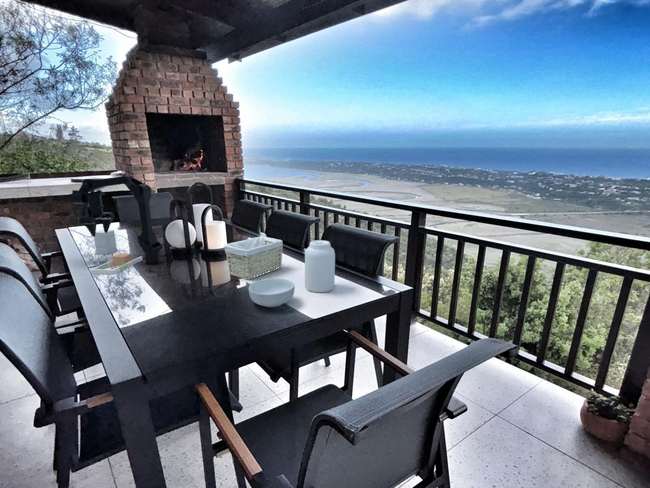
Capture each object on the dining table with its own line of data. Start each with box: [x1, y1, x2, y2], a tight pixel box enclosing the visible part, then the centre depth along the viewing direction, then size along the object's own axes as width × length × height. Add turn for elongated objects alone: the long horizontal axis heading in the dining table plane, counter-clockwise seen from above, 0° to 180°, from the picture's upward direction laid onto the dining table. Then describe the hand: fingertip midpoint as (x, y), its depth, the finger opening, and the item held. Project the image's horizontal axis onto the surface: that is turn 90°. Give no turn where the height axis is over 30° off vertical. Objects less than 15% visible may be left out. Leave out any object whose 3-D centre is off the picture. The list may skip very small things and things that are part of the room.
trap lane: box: [89, 256, 143, 276], centre depth 165 cm, size 11×24×2 cm, turn 178°
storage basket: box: [224, 235, 284, 280], centre depth 159 cm, size 24×16×15 cm
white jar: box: [304, 239, 336, 293], centre depth 139 cm, size 12×12×20 cm
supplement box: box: [93, 229, 118, 255], centre depth 188 cm, size 7×7×13 cm
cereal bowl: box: [248, 277, 295, 308], centre depth 125 cm, size 17×17×7 cm
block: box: [111, 252, 133, 267], centre depth 168 cm, size 6×6×5 cm
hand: (100, 234), depth 170 cm, fingers open, 9 cm apart
